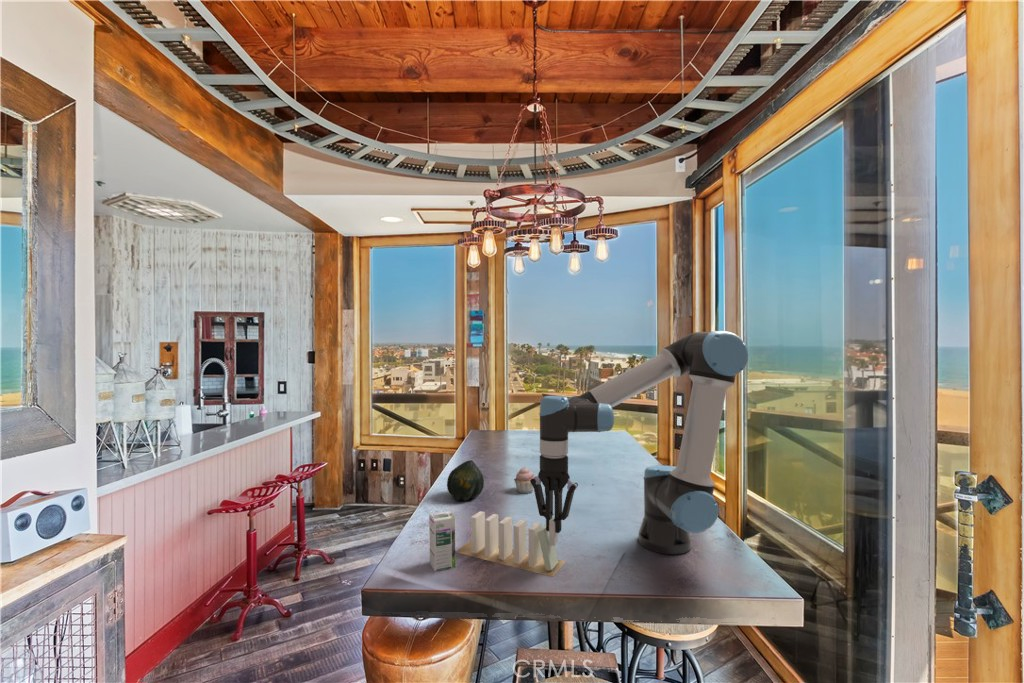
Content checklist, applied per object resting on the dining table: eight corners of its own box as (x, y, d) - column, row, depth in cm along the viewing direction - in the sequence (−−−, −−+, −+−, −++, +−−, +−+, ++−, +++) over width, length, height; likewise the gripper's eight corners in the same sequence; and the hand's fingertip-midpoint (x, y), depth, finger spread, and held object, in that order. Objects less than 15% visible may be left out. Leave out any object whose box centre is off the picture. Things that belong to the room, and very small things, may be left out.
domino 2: (498, 549, 130) (498, 514, 130) (489, 556, 125) (489, 520, 125) (493, 548, 130) (493, 513, 130) (484, 555, 126) (484, 519, 126)
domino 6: (558, 561, 121) (549, 524, 122) (551, 570, 117) (542, 531, 118) (552, 562, 122) (544, 524, 123) (546, 570, 117) (537, 531, 118)
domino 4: (526, 556, 125) (526, 520, 125) (518, 563, 121) (518, 526, 121) (521, 554, 126) (521, 519, 126) (513, 562, 122) (513, 525, 122)
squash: (435, 488, 170) (461, 459, 170) (445, 478, 185) (469, 451, 185) (462, 515, 169) (488, 485, 168) (470, 502, 184) (495, 475, 183)
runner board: (565, 565, 122) (565, 561, 122) (553, 581, 114) (553, 576, 114) (471, 543, 136) (471, 539, 136) (454, 556, 128) (454, 551, 128)
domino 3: (512, 552, 127) (512, 517, 127) (504, 560, 123) (504, 523, 123) (507, 551, 128) (507, 516, 128) (498, 559, 124) (498, 522, 124)
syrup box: (434, 576, 117) (434, 520, 117) (429, 566, 122) (429, 512, 122) (455, 571, 119) (455, 517, 119) (449, 561, 125) (449, 509, 125)
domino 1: (485, 546, 132) (484, 512, 132) (476, 553, 127) (475, 518, 127) (480, 545, 132) (480, 511, 132) (471, 552, 128) (471, 517, 128)
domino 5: (541, 559, 123) (541, 523, 123) (534, 567, 119) (534, 529, 119) (536, 558, 124) (536, 522, 124) (528, 566, 120) (528, 528, 120)
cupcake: (541, 490, 184) (541, 466, 184) (526, 496, 177) (526, 471, 177) (523, 486, 190) (523, 462, 190) (509, 491, 183) (509, 467, 183)
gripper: (581, 454, 119) (581, 543, 119) (536, 449, 125) (536, 533, 125) (572, 461, 113) (572, 555, 113) (525, 455, 119) (525, 544, 119)
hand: (553, 543), depth 119 cm, fingers closed
